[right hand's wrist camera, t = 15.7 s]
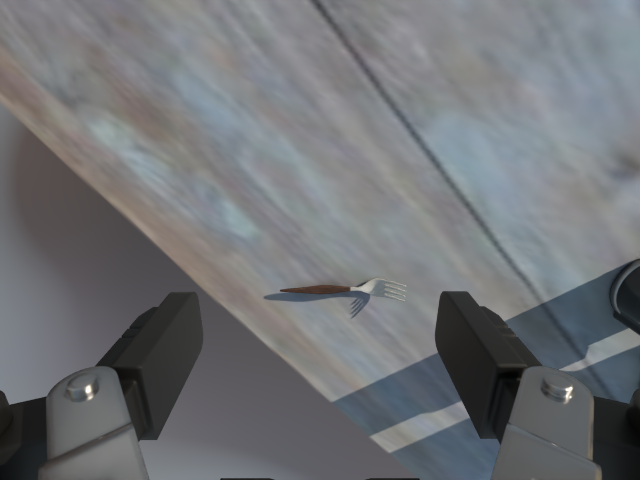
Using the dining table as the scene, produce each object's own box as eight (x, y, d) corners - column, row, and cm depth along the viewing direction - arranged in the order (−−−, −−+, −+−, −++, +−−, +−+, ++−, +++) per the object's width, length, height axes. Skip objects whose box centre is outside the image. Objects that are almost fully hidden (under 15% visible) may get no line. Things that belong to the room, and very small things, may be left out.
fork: (279, 279, 45) (278, 287, 43) (403, 277, 45) (406, 284, 43) (281, 297, 46) (279, 305, 44) (401, 295, 46) (405, 303, 44)
